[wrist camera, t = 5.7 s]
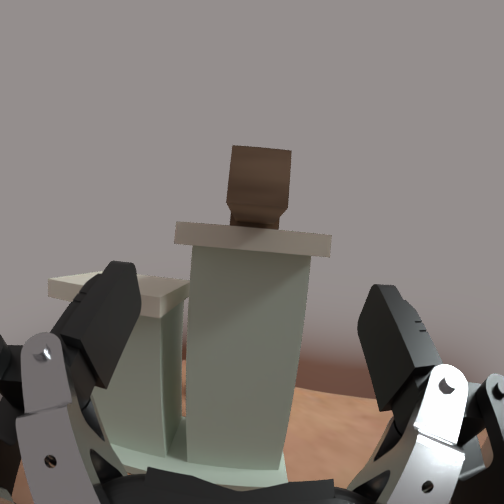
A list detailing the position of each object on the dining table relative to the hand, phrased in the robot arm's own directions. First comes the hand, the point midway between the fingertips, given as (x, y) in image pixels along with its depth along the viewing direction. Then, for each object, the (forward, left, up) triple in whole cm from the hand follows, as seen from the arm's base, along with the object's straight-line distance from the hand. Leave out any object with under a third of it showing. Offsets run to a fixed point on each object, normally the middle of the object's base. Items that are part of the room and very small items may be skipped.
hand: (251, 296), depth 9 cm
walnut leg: (-9, -15, +4) cm, 18 cm away
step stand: (-5, -24, -28) cm, 37 cm away
